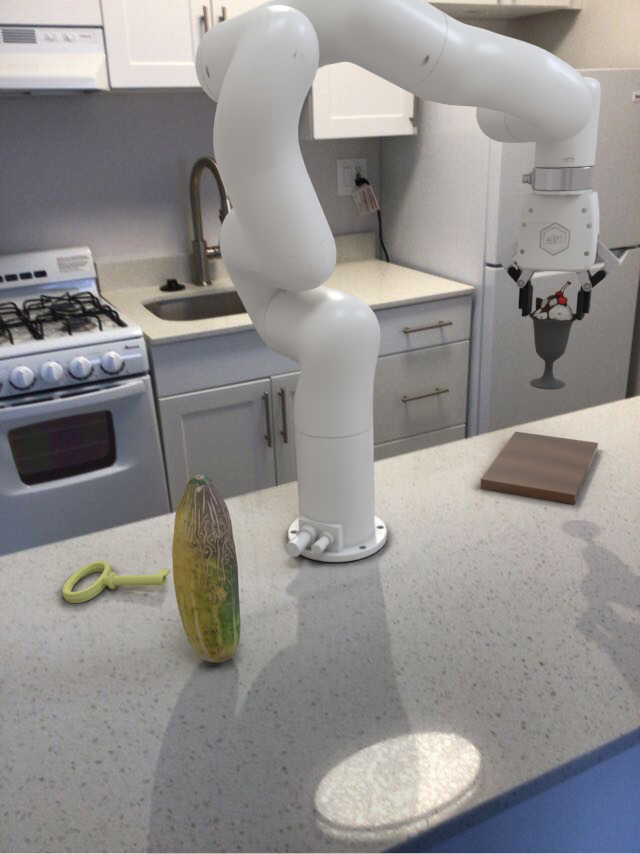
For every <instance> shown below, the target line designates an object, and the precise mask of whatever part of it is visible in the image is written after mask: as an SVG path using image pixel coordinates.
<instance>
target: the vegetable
mask: <svg viewBox="0 0 640 854" xmlns="http://www.w3.org/2000/svg"><path fill="white" fill-rule="evenodd" d="M171 557H172V578H173V585H174V594H175V598H176V604H177V608H178V612H179V617H180V620H181V624H182V628H183V630H184V634H185V636H186V639H187V641H188V644H189V646H190V647H191V649H192V650H193V652H194V653H195V654H196V655H197V656H198V657H199V658H201V659H202V660H203V661H206V662H208V663H215V664H220V663H224V662H227V661H229V659H231V658H232V657H233V656H234V655H235V653H236V651H237V650H238V649H239V648H238V647H239V644H240V641H241V606H240V605H241V603H240V588H239V586H240V584H239V567H238V557H237V550H236V544H235V539H234V531H233V524H232V519H231V515H230V510H229V508H228V506H227V504H226V502H225V499H224V498H223V496H222V495H221V494H220V492H219V491H218V489H217V487H216V485H215V483H214V481H213V480H212V479H211V477H210V476H208V475H206V474H204V473H199V474H195V475H193V476H192V477H190V479H189V480H188V482H187V484H186V487H185V490H184V491H183V494H182V496H180V499H179V500H178V503H177V506H176V511H175V516H174V525H173V538H172V547H171Z"/></svg>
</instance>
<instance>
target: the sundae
mask: <svg viewBox="0 0 640 854" xmlns="http://www.w3.org/2000/svg"><path fill="white" fill-rule="evenodd" d="M570 285H572V282H571V281H568V280H567V281H566V283H565V284H564V285H563V286H562V287H561V288H560V290H558V291H555V293H554V294H551V295H548V296H546V297H545V298H541V297H539V296H537V297H536V298H535V310H534V311H533V310H532V312H531V313H529V315H528V317H529V318H530V319H531V320H532V322H533V337H534V340H533V341H534V348H535V352H536V355H538V357H539V358H540V359H542V360H543V361H544V370H543V373H542V375H541V377H537V378H533V379H531V380H530V381H529V385H530V386H531V387H533V388H536V389H540V390H548V391H549V390H551V391H552V390H559V389H562V388H565V386H566V382H565V381H563V380H561V379H558V378H556V377H555V375H554V363H555V362H556V361H557V360H559V359H561V357H562V356H563V355H564V354H565V352H566V349H567V347H568V341H569V338H570V334H571V329H572V325H573V323H574V322H575V321H577V319H576V313H573V311H572V308H571V306H570V305H569V304H568V298H567V297H566V296H565V295H564V293H565V290H566V289H567V287H570Z"/></svg>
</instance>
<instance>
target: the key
mask: <svg viewBox="0 0 640 854" xmlns="http://www.w3.org/2000/svg"><path fill="white" fill-rule="evenodd" d="M96 572H97V573H98V572H100V573H101V574H100V576H99V577H98V578H97V579H96V580H95V581H94V582H93V583H92V584H91V585H89V586H88V587H85V588H84V589H81V590H78V591H73V588H74V586H75V585H76V584H77V583H78V582H79V581H80V580H81V579H83V578H85V577H86V576H88V575H91V574H93V573H96ZM170 574H171V569H170V568H166V569H164V568H160V569H159V571H158V572H157V574H125V575H121V574H120V575H118V574H117V572H115V571H112V567H111V565H110V563H109V562H108V561H105V560H96V561H92V562H90V563H88V564H86V565H83V566H82V567H80V568H79V569H77V570H76V571H75V572H74V573H73V574H72V575H70V577H69V578H68V579H67V581H66V582H65V583H64V584H63V586H62V591H61V592H62V596H63V598H64V600H65V601H66V602H67V603H70V604H80V603H84V602H87V601H89V600H91V599H93V598H94V597H96V596H97V595H99V594H100V593H101V592H103V590H104V589H105V588H106V587H108V588H109V589H110V590H115V589H117V587H127V586H128V587H132V586H133V587H135V586H136V587H137V586H138V587H141V586H165V585H167V578H168V576H169V575H170Z"/></svg>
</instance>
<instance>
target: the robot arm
mask: <svg viewBox="0 0 640 854" xmlns="http://www.w3.org/2000/svg"><path fill="white" fill-rule="evenodd" d="M194 60H195V62H194V67H195V73H196V77H197V80H198V83H199V84H200V86H201V88H202V90H203V92H204V93H205V94H206V95H207V96H208V97H209V98H210V99H211V100H212V101H213V102H215V103H217V104H216V110H215V113H214V114H215V115H214V121H213V132H212V144H213V154H214V158H215V163H216V167H217V170H218V173H219V177H220V179H221V182H222V184H223V186H224V189H225V191H226V194H227V197H228V199H229V201H230V204H231V206H232V208H231V209H230V210H229V212H228V213H227V214H226V216H225V217H224V219H223V221H222V224H221V227H220V231H219V250H220V256H221V259H222V262H223V266H224V268H225V270H226V272H227V274H228V276H229V278H230V281H231V283H232V284H233V287H234V289H235V290H236V293H237V295H238V297H239V299H240V301H241V303H242V305H243V307H244V309H245V311H246V313H247V315H248V318H249V319H250V322H251V323H252V325H253V326H254V329H255V330H256V333H257V334H258V335H259V337H260V339H261V340H262V341H263V343H264V344H265V345H266V346H267V347H268V348H270V349H271V350H272V351H274V352H275V353H277V354H279V355H280V356H282V357H284V358H287V359H289V360H292V361H293V362H295V363H297V364H299V367H300V369H299V370H300V371H299V377H298V381H297V384H296V387H295V390H294V391H295V392H294V397H293V409H292V410H293V428H294V443H295V444H294V445H295V460H296V461H295V463H296V479H297V480H296V481H297V499H298V500H297V501H298V502H297V503H298V517H297V518H296V519H295V520H294V521H293V522H291V524H290V525H289V527H288V530H287V541H288V542H287V543H286V545H285V552H286V553H287V555H288V556H290V557H292V558H297V557H299V556H300V555H301V556H303V557H305V558H308V559H310V560H314V561H319V562H327V563H346V562H352V561H353V562H354V561H357V560H361V559H364V558H367V557H370V556H371V555H373V554H375V553H377V552H378V551H380V550H381V549H382V548H383V547H384V545H385V544H386V542H387V539H388V529H387V526H386V523H385V522H384V520H382V519H381V518H380V517H379V516H377V515H376V513H375V457H374V456H375V447H374V445H375V442H374V441H375V440H374V439H375V438H374V435H375V434H374V433H375V432H374V430H375V429H374V388H375V376H376V371H377V365H378V359H379V356H380V355H379V354H380V349H381V341H382V339H381V338H382V337H381V327H380V322H379V320H378V318H377V314H375V312H374V310H373V309H372V308H371V306H369V305H368V304H367V303H366V302H365V300H363V299H361V298H360V297H357V296H356V295H354V294H352V293H349V292H347V291H343V290H339V289H336V288H334V287H333V288H332V287H330V286H326V285H325V286H324V284H325V283H326V282H327V281H328V280H329V279H330V278H331V276H332V275H333V274H334V271H335V268H336V265H337V257H338V256H337V255H338V253H337V246H336V241H335V238H334V234H333V233H332V229H331V227H330V225H329V222H328V220H327V218H326V215H325V213H324V210H323V207H322V205H321V203H320V200H319V198H318V195H317V192H316V190H315V188H314V185H313V183H312V179H311V178H310V175H309V172H308V169H307V167H306V164H305V161H304V158H303V154H302V151H301V147H300V142H299V124H300V117H301V114H302V109H303V106H304V103H305V100H306V98H307V95H308V93H309V92H310V89H311V88H312V85H313V82H314V81H315V78H316V76H317V72H318V70H319V69H321V68H323V67H325V66H330V65H335V64H339V63H350V64H353V65H355V66H357V67H360V68H362V69H363V70H366V71H368V72H369V73H371V74H374V75H375V76H377V77H379V78H381V79H383V80H385V81H387V82H388V83H390V84H393V85H394V86H397V87H398V88H400V89H402V90H403V91H406V92H408V93H409V94H412V95H413V96H415V97H418V98H419V99H421V100H425V101H428V102H433V103H438V104H441V105H447V106H457V107H459V106H460V107H472V108H476V111H475V112H476V113H475V117H476V122H477V125H478V127H479V129H480V130H481V132H482V133H483V134H484V135H485V136H486V137H487V138H489V139H491V140H493V141H495V142H497V143H498V142H499V143H502V144H503V143H504V144H524V143H525V144H526V143H535V148H534V163H533V164H534V165H533V167H532V170H531V171H529V172H523V174H522V177H521V182H522V184H527V185H530V187H531V190H532V191H531V192H527V193H525V197H524V200H523V205H522V210H521V215H520V219H519V220H520V221H519V226H518V227H519V228H518V237H517V241H516V242H514V243H513V244H512V245H511V246H510V247H508V248H507V249H506V250H505V251H504V252H502V253H501V254H500V255H499V256H498V258H497V261H498V264H500V265H501V267H502V268H503V269H504V270H505V271H506V272H507V274H508V276H509V277H510V278H511V279H512V280H513V281H514V283H516V286H517V287H518V288H519V291H518V305H517V306H518V310H521V317H523V318H524V317H525V318H526V317H529V313H533V296H534V285H533V284H532V281H531V280H532V278H533V277H534V275H535V273H536V271H541V272H559V273H560V272H563V273H564V272H566V273H576V275H577V279H578V280H579V283H580V287H579V288H580V289H579V290H578V291H577V297H576V309H575V314H576V321H582V320H583V319H584V317H585V315H586V314H590V310H591V301H592V300H591V299H592V289H593V288H594V287H596V286H597V285H598V284H599V283H600V282H602V281H603V280H604V279H605V278H606V277H607V276H608V275H610V274H611V272H613V271H614V270H615V269H616V268H617V267H618V266H619V265H620V263H621V260H620V259H619V258H618V257H617V256H616V254H614V253H613V252H612V251H611V250H610V249H609V248H608V247H607V246H606V245H605V244H604V243H603V242H602V241H601V240H600V203H599V202H600V201H599V195H598V193H599V192H598V191H593V188H594V179H595V168H596V167H595V166H596V155H597V154H596V153H597V143H598V133H599V121H600V110H601V99H602V87H601V83H600V81H599V80H598V79H596V78H594V77H591V76H582V74H581V73H580V72H579V71H578V70H576V69H575V67H573V66H571V65H570V64H569V63H567V62H566V61H564V60H563V59H561V58H560V57H558V56H557V55H555V54H553V53H551V52H550V51H548V50H546V49H544V48H542V47H540V46H537V45H534V44H532V43H529V42H527V41H523V40H520V39H517V38H513V37H510V36H508V35H507V36H506V35H504V34H500V33H497V32H494V31H491V30H488V29H486V28H481V27H477V26H475V25H474V26H473V25H470V24H466V23H464V22H462V21H459V20H457V19H455V18H454V17H452V16H450V15H449V14H447V13H446V12H444V11H442V10H441V9H438V8H437V7H436V6H434V5H432V4H431V3H429V2H428V1H426V0H268V1H266V2H264V3H261V4H259V5H257V6H255V7H254V6H253V7H252V8H250V9H248V10H246V11H244V12H241V13H239V14H236V15H234V16H231V17H229V18H227V19H225V20H223V21H220V22H218V23H216V24H214V25H213V26H211V27H210V28H209V29H208V30H207V31H206V32H205V33H204V35H203V36H202V37H201V39H200V41H199V44H198V46H197V49H196V53H195V59H194ZM515 256H516V257H515ZM514 257H515V258H516V264H515V261H514V260H513V258H514ZM598 257H599V258H600V259H601V260H602V261H603V262H604V265H603V266H602V267H601V268H599V270H597V271H596V272H595V273H593V274H592V270H591V268H593V267H594V265H596V263H597V261H598ZM521 269H522V270H521Z"/></svg>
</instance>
